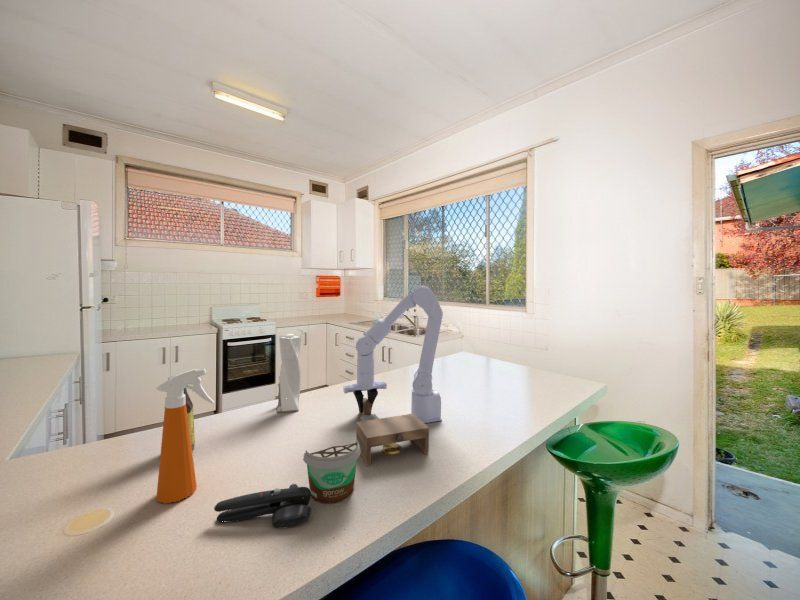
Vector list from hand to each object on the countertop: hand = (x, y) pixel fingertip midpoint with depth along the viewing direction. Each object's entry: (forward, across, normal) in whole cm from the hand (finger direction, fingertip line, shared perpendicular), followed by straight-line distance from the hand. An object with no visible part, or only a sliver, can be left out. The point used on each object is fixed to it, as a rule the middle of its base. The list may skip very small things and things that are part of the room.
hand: (365, 411), depth 113 cm
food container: (+2, +18, +39) cm, 43 cm away
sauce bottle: (+2, +52, +6) cm, 52 cm away
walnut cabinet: (+1, 0, +25) cm, 25 cm away
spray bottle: (+2, +47, +26) cm, 54 cm away
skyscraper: (+2, +23, -15) cm, 28 cm away
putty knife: (+1, 0, +8) cm, 8 cm away
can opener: (+2, +32, +40) cm, 51 cm away
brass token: (+2, 0, +25) cm, 25 cm away
